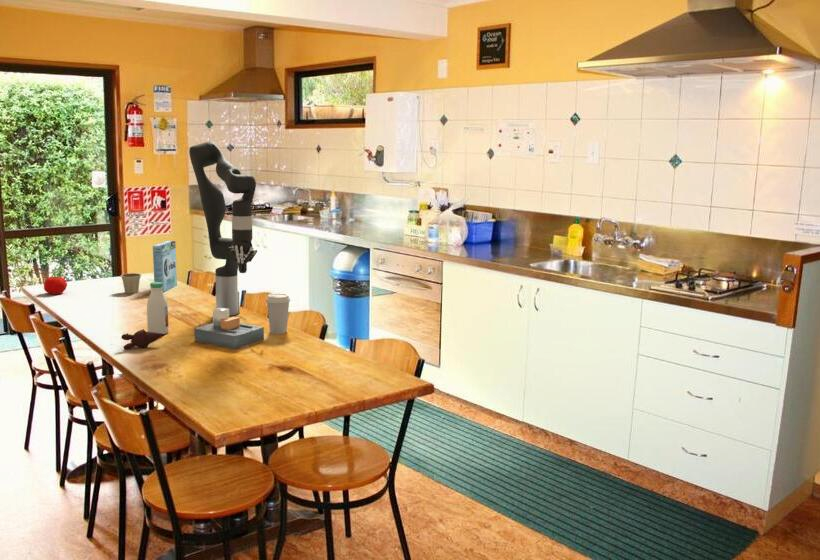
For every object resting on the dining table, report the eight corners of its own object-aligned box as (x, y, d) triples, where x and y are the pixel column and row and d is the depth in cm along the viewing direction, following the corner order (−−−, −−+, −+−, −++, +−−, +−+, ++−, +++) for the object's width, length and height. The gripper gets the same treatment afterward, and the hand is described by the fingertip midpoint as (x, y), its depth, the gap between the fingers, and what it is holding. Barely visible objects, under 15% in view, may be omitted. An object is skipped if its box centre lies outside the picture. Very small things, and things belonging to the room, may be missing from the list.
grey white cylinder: (221, 334, 290) (220, 307, 287) (232, 337, 287) (232, 309, 285) (210, 338, 284) (209, 310, 282) (222, 340, 282) (221, 312, 279)
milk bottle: (162, 336, 287) (160, 285, 283) (143, 334, 289) (141, 283, 285) (172, 331, 295) (170, 281, 291) (154, 329, 296) (152, 280, 292)
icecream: (161, 325, 278) (118, 333, 271) (165, 324, 272) (122, 333, 264) (164, 343, 278) (122, 352, 271) (168, 343, 272) (125, 352, 264)
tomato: (40, 293, 355) (39, 276, 354) (60, 290, 363) (59, 273, 362) (51, 296, 350) (49, 279, 348) (71, 293, 358) (70, 276, 357)
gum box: (163, 292, 366) (162, 246, 362) (153, 292, 366) (151, 245, 362) (177, 285, 385) (176, 240, 381) (167, 284, 385) (166, 240, 381)
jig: (224, 332, 295) (223, 318, 294) (263, 339, 286) (263, 325, 285) (194, 341, 281) (194, 326, 280) (235, 349, 272) (235, 334, 271)
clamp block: (233, 325, 286) (233, 316, 286) (239, 326, 285) (239, 317, 284) (220, 329, 280) (220, 320, 280) (226, 330, 279) (226, 321, 278)
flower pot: (137, 294, 359) (137, 277, 358) (118, 294, 359) (117, 276, 358) (144, 290, 368) (144, 273, 367) (125, 290, 369) (125, 273, 367)
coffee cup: (261, 331, 297) (260, 295, 295) (280, 328, 304) (280, 291, 302) (275, 336, 291) (275, 299, 288) (295, 332, 298) (295, 295, 295)
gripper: (221, 227, 283) (222, 272, 286) (249, 230, 276) (249, 276, 280) (235, 225, 289) (236, 269, 292) (262, 228, 283) (262, 273, 286)
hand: (242, 272), depth 286 cm, fingers closed
